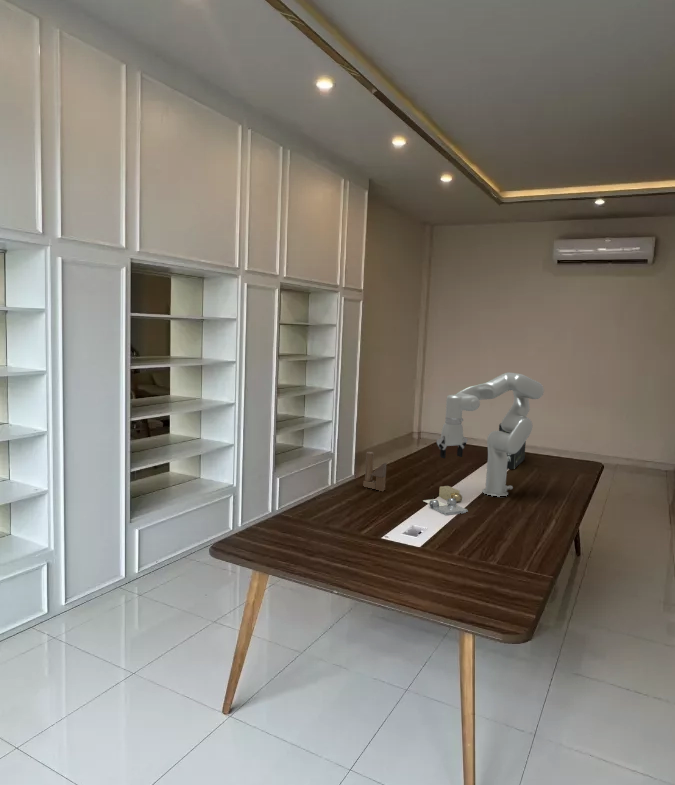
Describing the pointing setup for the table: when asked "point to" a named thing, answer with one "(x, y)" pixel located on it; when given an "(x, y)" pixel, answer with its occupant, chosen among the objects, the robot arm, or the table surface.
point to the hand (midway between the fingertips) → (451, 457)
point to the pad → (438, 501)
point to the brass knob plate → (450, 493)
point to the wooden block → (374, 474)
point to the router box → (515, 455)
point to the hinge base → (447, 507)
